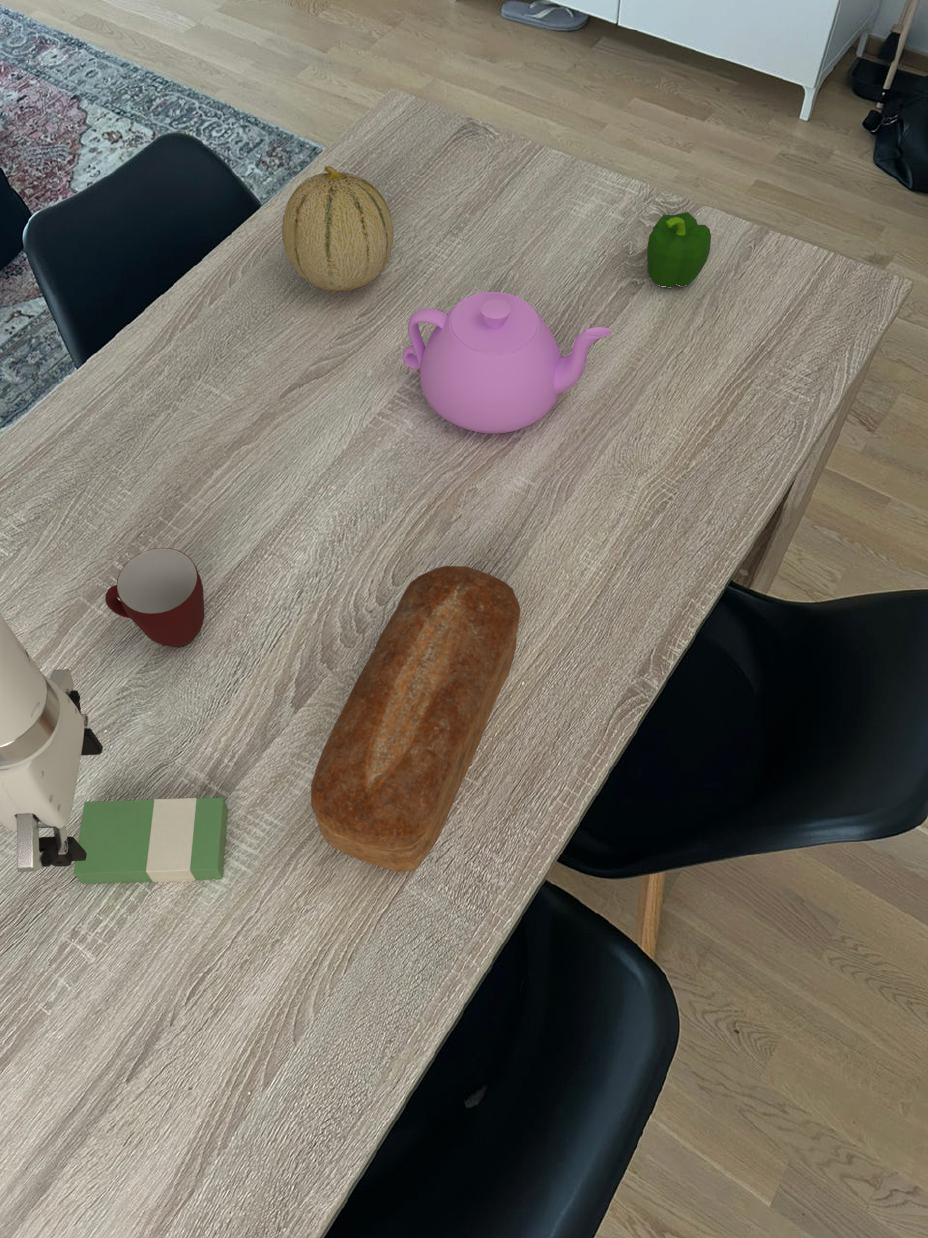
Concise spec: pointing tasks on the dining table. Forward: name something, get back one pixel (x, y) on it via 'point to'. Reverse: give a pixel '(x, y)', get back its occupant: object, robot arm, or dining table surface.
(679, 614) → the dining table surface
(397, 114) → the dining table surface
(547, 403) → the teapot
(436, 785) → the bread
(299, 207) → the cantaloupe
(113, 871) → the block
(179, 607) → the mug
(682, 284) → the bell pepper
